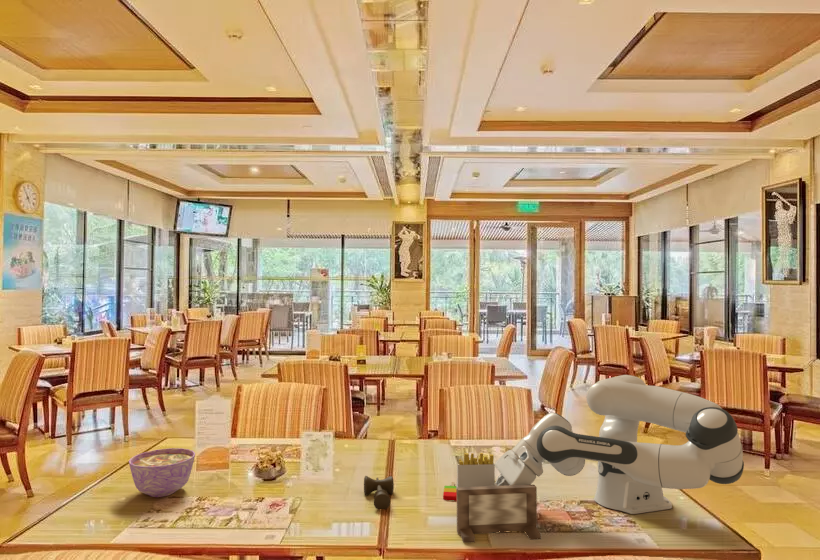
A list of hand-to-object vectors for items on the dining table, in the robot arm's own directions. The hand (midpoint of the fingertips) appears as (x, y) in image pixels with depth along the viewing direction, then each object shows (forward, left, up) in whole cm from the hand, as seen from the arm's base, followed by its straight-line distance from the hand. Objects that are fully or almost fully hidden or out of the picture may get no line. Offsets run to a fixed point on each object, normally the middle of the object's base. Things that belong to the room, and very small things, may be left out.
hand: (494, 490), depth 163 cm
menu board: (+3, +15, -6) cm, 17 cm away
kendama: (+34, -15, -7) cm, 38 cm away
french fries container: (+6, 0, -7) cm, 9 cm away
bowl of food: (+105, -26, -7) cm, 108 cm away
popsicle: (+10, -17, -7) cm, 21 cm away
